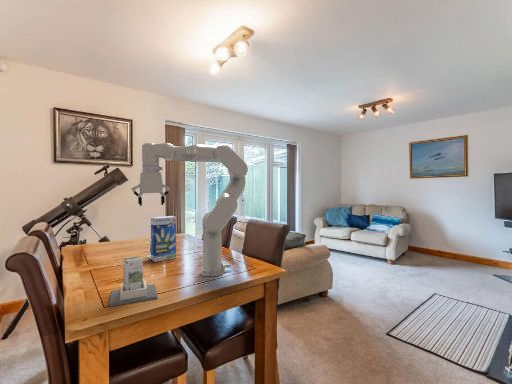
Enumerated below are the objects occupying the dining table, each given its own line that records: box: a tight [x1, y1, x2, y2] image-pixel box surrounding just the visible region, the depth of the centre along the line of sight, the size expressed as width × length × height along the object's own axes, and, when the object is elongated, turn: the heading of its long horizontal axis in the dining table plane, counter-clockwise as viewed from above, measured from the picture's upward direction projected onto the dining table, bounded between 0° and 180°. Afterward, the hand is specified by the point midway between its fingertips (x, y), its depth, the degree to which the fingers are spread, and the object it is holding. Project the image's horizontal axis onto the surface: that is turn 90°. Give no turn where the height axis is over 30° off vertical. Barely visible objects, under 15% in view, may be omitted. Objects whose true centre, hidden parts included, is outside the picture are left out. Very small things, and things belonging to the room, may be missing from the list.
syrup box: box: [122, 255, 144, 291], centre depth 108 cm, size 6×6×14 cm
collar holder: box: [108, 279, 159, 308], centre depth 108 cm, size 17×14×4 cm
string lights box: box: [150, 215, 177, 263], centre depth 161 cm, size 13×8×26 cm, turn 131°
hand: (151, 205), depth 127 cm, fingers open, 9 cm apart
